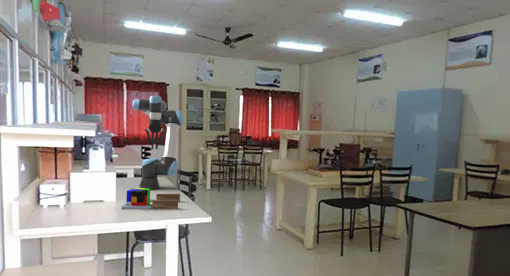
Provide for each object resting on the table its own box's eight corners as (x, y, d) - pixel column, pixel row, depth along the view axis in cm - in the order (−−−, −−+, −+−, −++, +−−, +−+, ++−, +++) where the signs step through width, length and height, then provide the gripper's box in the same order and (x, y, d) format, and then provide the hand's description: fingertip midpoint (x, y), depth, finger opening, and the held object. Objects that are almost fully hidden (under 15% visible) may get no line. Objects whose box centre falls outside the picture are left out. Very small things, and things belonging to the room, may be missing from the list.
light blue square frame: (128, 201, 209) (128, 199, 209) (154, 201, 212) (154, 199, 212) (121, 208, 191) (121, 206, 191) (150, 208, 194) (150, 206, 194)
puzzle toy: (126, 207, 196) (126, 190, 196) (135, 203, 206) (135, 187, 206) (141, 208, 194) (141, 191, 194) (149, 204, 204) (150, 188, 204)
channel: (156, 201, 212) (156, 193, 212) (179, 201, 215) (180, 193, 214) (152, 208, 194) (152, 200, 194) (177, 208, 196) (177, 200, 196)
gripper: (144, 118, 212) (143, 154, 213) (164, 119, 214) (163, 154, 215) (146, 118, 219) (145, 153, 221) (165, 119, 222) (165, 153, 223)
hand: (154, 154), depth 218 cm, fingers closed
